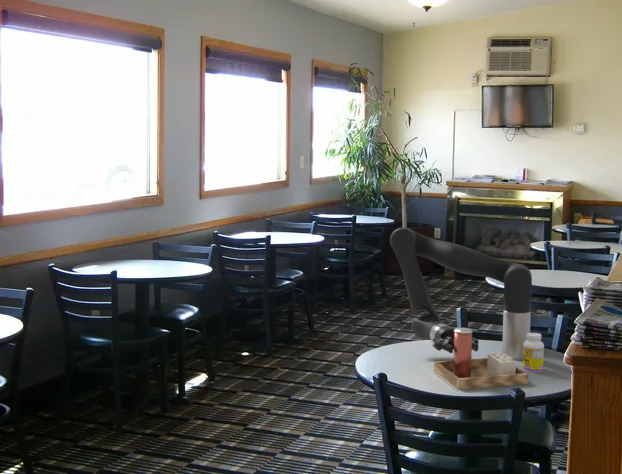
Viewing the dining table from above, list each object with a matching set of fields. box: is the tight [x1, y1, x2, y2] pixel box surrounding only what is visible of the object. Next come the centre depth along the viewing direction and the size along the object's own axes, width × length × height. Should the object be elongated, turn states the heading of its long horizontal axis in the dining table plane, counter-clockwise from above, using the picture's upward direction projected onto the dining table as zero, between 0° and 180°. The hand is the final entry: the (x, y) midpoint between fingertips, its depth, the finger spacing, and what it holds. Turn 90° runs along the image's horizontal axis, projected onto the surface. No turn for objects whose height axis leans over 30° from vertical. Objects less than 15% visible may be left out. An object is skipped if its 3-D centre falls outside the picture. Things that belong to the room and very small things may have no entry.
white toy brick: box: [487, 350, 517, 376], centre depth 262 cm, size 5×10×7 cm, turn 13°
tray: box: [433, 357, 529, 392], centre depth 261 cm, size 24×20×4 cm
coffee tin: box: [453, 327, 473, 378], centre depth 259 cm, size 6×6×16 cm
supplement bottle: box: [522, 332, 545, 373], centre depth 269 cm, size 7×7×13 cm
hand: (464, 349), depth 258 cm, fingers open, 8 cm apart
